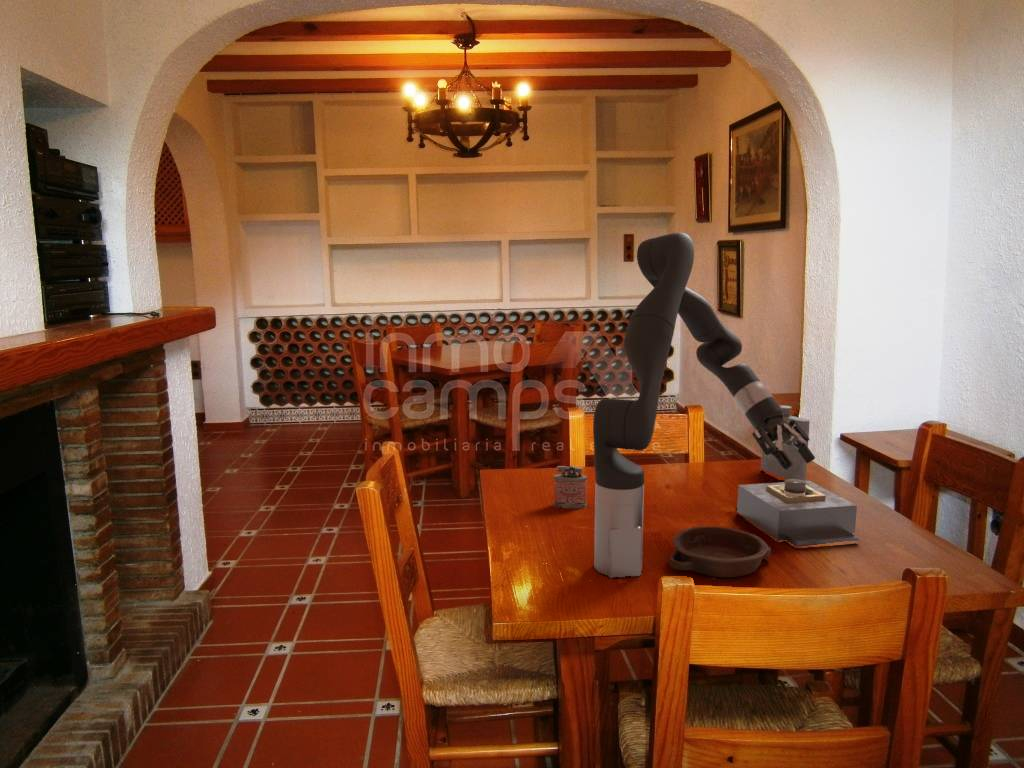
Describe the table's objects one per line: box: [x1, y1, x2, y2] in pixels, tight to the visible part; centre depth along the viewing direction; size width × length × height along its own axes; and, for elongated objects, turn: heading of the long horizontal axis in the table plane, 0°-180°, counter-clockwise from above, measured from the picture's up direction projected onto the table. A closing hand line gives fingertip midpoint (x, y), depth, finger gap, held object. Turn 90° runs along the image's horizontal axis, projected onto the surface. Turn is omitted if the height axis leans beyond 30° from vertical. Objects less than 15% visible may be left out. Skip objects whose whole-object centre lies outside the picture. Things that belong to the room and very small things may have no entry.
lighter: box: [553, 464, 588, 509], centre depth 178 cm, size 8×3×10 cm, turn 84°
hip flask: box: [760, 405, 810, 481], centre depth 199 cm, size 16×4×20 cm, turn 21°
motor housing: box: [736, 480, 859, 547], centre depth 165 cm, size 26×18×8 cm
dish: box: [669, 525, 772, 578], centre depth 144 cm, size 18×22×5 cm
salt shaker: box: [784, 479, 806, 496], centre depth 165 cm, size 4×4×10 cm
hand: (800, 464), depth 162 cm, fingers open, 8 cm apart
